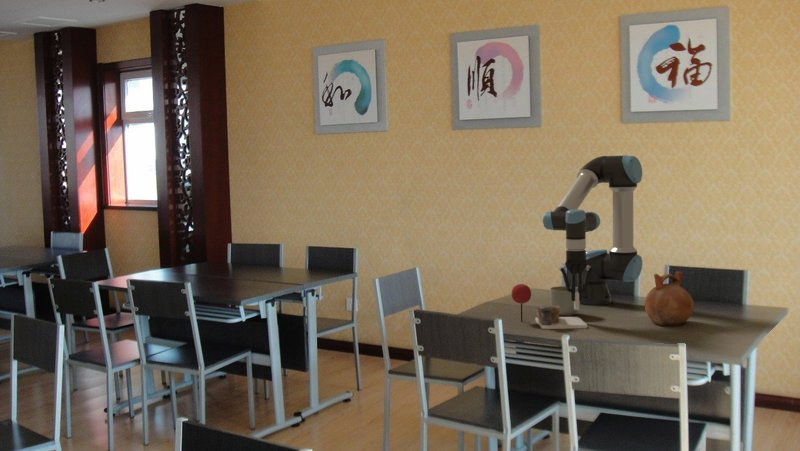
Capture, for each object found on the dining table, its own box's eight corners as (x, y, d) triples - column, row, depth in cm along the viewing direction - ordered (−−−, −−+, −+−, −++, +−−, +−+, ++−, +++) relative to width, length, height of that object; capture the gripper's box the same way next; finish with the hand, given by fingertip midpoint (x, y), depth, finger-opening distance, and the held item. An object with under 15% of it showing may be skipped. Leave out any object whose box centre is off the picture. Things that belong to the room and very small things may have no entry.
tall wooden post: (545, 320, 325) (545, 304, 325) (552, 328, 311) (552, 311, 310) (536, 320, 325) (536, 304, 325) (542, 328, 311) (542, 311, 310)
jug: (668, 330, 304) (669, 276, 302) (633, 321, 320) (634, 271, 318) (704, 324, 313) (704, 272, 311) (668, 316, 329) (669, 267, 327)
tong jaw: (556, 316, 325) (556, 301, 324) (560, 325, 309) (560, 308, 309) (537, 316, 326) (537, 301, 325) (540, 325, 310) (540, 308, 310)
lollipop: (532, 320, 327) (532, 283, 325) (529, 324, 320) (529, 286, 318) (513, 319, 329) (513, 282, 328) (510, 323, 322) (509, 285, 321)
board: (578, 319, 326) (578, 316, 326) (587, 328, 310) (587, 325, 310) (535, 320, 326) (535, 317, 326) (542, 329, 310) (542, 325, 310)
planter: (586, 314, 337) (586, 288, 336) (570, 319, 328) (570, 292, 327) (560, 310, 345) (560, 285, 344) (544, 315, 336) (544, 289, 335)
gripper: (590, 247, 322) (591, 306, 324) (557, 248, 322) (558, 307, 324) (594, 250, 314) (595, 310, 317) (561, 251, 314) (561, 311, 317)
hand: (576, 309), depth 320 cm, fingers closed
